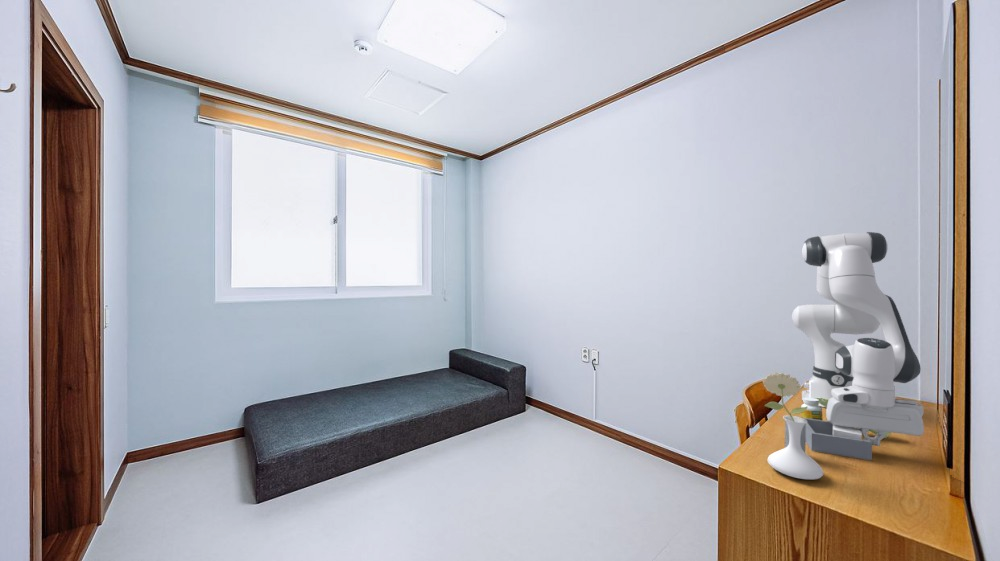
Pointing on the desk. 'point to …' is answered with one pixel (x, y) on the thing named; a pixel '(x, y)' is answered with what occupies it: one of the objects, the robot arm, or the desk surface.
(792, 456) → the flower in vase
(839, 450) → the box
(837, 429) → the white cube
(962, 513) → the desk surface
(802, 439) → the grey hollow cylinder
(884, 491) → the desk surface
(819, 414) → the supplement bottle
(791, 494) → the desk surface
